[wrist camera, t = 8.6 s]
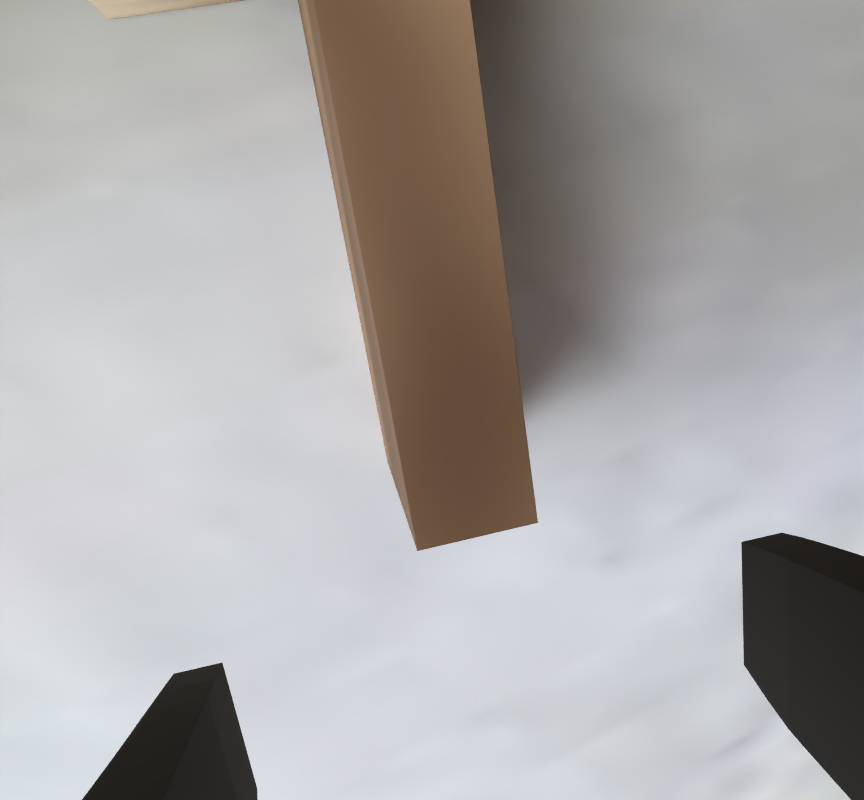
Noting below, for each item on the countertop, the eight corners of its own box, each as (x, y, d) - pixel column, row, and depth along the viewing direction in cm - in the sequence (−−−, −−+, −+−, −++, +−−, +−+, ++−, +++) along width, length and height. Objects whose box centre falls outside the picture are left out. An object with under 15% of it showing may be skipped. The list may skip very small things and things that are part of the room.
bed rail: (383, -210, 15) (425, -399, 10) (481, 438, 19) (542, 521, 14) (254, -197, 14) (233, -385, 10) (382, 460, 19) (412, 552, 14)
